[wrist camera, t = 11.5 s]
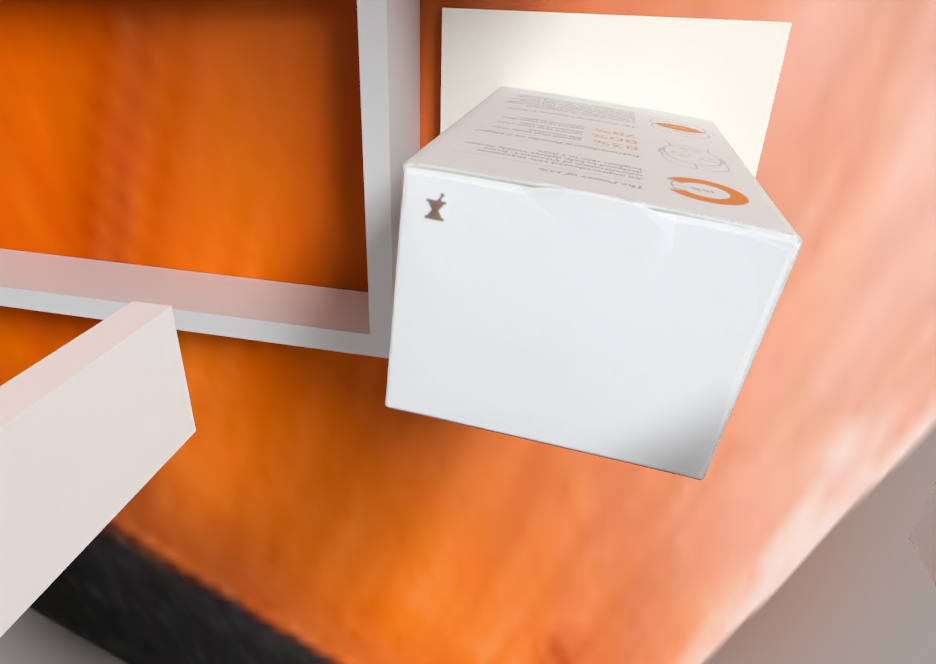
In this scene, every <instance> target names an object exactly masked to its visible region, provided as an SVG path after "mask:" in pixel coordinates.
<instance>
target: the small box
mask: <svg viewBox="0 0 936 664" xmlns="http://www.w3.org/2000/svg"><path fill="white" fill-rule="evenodd" d="M801 245H802V240H801V238H800V237H799V235H798V234H797V233H796V232H795V230H794V229H793V228H792V226H791V225H790V224H789V223H788V221H787V220H786V219H785V217H784V216H783V215H782V214H781V212H780V211H779V210H778V209H777V207H776V206H775V205H774V203H773V202H772V200H771V199H770V198H769V196H768V195H767V194H766V192H765V191H764V190H763V188H762V187H761V186H760V184H759V183H758V182H757V180H756V179H755V177H754V176H753V175H752V173H751V172H750V171H749V169H748V168H747V167H746V165H745V164H744V163H743V161H742V160H741V159H740V157H739V156H738V155H737V153H736V152H735V151H734V149H733V148H732V147H731V146H730V144H729V143H728V142H727V140H726V139H725V138H724V136H723V135H722V134H721V132H720V131H719V130H718V128H717V127H716V125H715V124H714V123H713V122H712V121H711V120H706V119H701V118H695V117H690V116H685V115H679V114H673V113H667V112H662V111H656V110H650V109H644V108H638V107H633V106H627V105H621V104H614V103H608V102H602V101H596V100H590V99H584V98H578V97H572V96H566V95H560V94H553V93H547V92H541V91H535V90H528V89H521V88H513V87H506V86H502V87H500V88H499V89H498V90H497V91H495V92H494V93H493V94H491V95H490V96H489V97H488V98H486V99H485V100H484V101H483V102H481V103H480V104H479V105H477V106H476V107H475V108H473V109H472V110H471V111H470V112H468V113H467V114H466V115H464V116H463V117H462V118H460V119H459V120H458V121H457V122H455V123H454V124H453V125H452V126H450V127H449V128H448V129H446V130H445V131H444V132H442V133H441V134H440V135H439V136H437V137H436V138H435V139H433V140H432V141H431V142H429V143H428V144H427V145H425V146H424V147H423V148H422V149H420V150H419V151H418V152H417V153H416V154H414V155H413V156H411V157H410V158H408V159H407V160H406V161H404V162H403V164H402V182H401V199H400V216H399V231H398V247H397V262H396V277H395V289H394V302H393V315H392V328H391V341H390V352H389V364H388V377H387V390H386V399H385V406H386V407H388V408H391V409H395V410H400V411H404V412H409V413H413V414H418V415H422V416H426V417H431V418H435V419H439V420H443V421H448V422H452V423H457V424H461V425H466V426H470V427H474V428H478V429H482V430H487V431H491V432H496V433H500V434H505V435H509V436H514V437H518V438H522V439H527V440H531V441H535V442H540V443H544V444H548V445H552V446H557V447H561V448H565V449H570V450H574V451H579V452H583V453H588V454H592V455H596V456H601V457H605V458H609V459H613V460H618V461H622V462H626V463H631V464H635V465H639V466H643V467H648V468H652V469H656V470H660V471H665V472H669V473H673V474H678V475H682V476H686V477H691V478H694V479H698V480H701V479H703V478H704V476H705V474H706V471H707V469H708V466H709V464H710V462H711V459H712V457H713V454H714V452H715V450H716V447H717V445H718V442H719V440H720V438H721V435H722V433H723V431H724V428H725V426H726V423H727V421H728V419H729V416H730V414H731V412H732V409H733V407H734V404H735V402H736V400H737V397H738V395H739V393H740V390H741V388H742V385H743V383H744V381H745V378H746V376H747V373H748V371H749V369H750V366H751V364H752V361H753V359H754V357H755V354H756V352H757V349H758V347H759V345H760V342H761V340H762V337H763V335H764V333H765V330H766V328H767V326H768V323H769V321H770V318H771V316H772V314H773V311H774V309H775V307H776V304H777V302H778V300H779V297H780V295H781V292H782V290H783V288H784V285H785V283H786V281H787V278H788V276H789V273H790V271H791V269H792V266H793V264H794V262H795V259H796V257H797V255H798V252H799V250H800V248H801Z"/></svg>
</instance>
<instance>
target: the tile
mask: <svg viewBox="0 0 936 664" xmlns="http://www.w3.org/2000/svg"><path fill="white" fill-rule="evenodd" d="M791 25H792V22H777V21H753V20H729V19H705V18H682V17H658V16H634V15H611V14H587V13H563V12H539V11H516V10H492V9H468V8H442V58H441V128H440V134H441V133H442V132H444V131H445V130H446V129H448V128H449V127H450V126H452V125H453V124H454V123H455V122H457V121H458V120H459V119H460V118H462V117H463V116H464V115H466V114H467V113H468V112H470V111H471V110H472V109H473V108H475V107H476V106H477V105H479V104H480V103H481V102H483V101H484V100H485V99H486V98H488V97H489V96H490V95H491V94H493V93H494V92H495V91H497V90H498V89H499V88H500V87H502V86H506V87H513V88H521V89H528V90H535V91H541V92H547V93H553V94H560V95H566V96H572V97H578V98H584V99H590V100H596V101H602V102H608V103H614V104H621V105H627V106H633V107H638V108H644V109H650V110H656V111H662V112H667V113H673V114H679V115H685V116H690V117H695V118H701V119H706V120H711V121H712V122H713V123H714V124H715V125H716V127H717V128H718V130H719V131H720V132H721V134H722V135H723V136H724V138H725V139H726V140H727V142H728V143H729V144H730V146H731V147H732V148H733V149H734V151H735V152H736V153H737V155H738V156H739V157H740V159H741V160H742V161H743V163H744V164H745V165H746V167H747V168H748V169H749V171H750V172H751V173H752V175H753V176H754V177H756V172H757V168H758V164H759V160H760V156H761V151H762V147H763V143H764V139H765V135H766V130H767V126H768V122H769V118H770V113H771V109H772V105H773V101H774V97H775V92H776V88H777V84H778V80H779V76H780V71H781V67H782V63H783V59H784V55H785V50H786V46H787V42H788V38H789V34H790V29H791Z"/></svg>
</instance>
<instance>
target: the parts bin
mask: <svg viewBox="0 0 936 664" xmlns="http://www.w3.org/2000/svg"><path fill="white" fill-rule="evenodd" d="M357 18H358V43H359V69H360V94H361V119H362V144H363V170H364V195H365V220H366V246H367V271H368V292H361V291H353V290H345V289H336V288H328V287H319V286H311V285H303V284H294V283H286V282H278V281H269V280H261V279H252V278H244V277H236V276H227V275H219V274H210V273H202V272H194V271H185V270H177V269H168V268H160V267H152V266H143V265H135V264H126V263H118V262H110V261H101V260H93V259H84V258H76V257H68V256H59V255H51V254H42V253H34V252H26V251H17V250H9V249H0V306H6V307H13V308H21V309H28V310H35V311H43V312H50V313H57V314H65V315H72V316H80V317H87V318H94V319H102V320H104V319H106V318H108V317H109V316H111V315H112V314H114V313H115V312H117V311H118V310H120V309H122V308H123V307H125V306H126V305H128V304H129V303H131V302H132V301H136V302H144V303H152V304H161V305H169V306H172V311H173V316H174V321H175V326H176V330H182V331H190V332H197V333H205V334H212V335H219V336H227V337H234V338H241V339H249V340H256V341H263V342H271V343H278V344H285V345H293V346H300V347H307V348H315V349H322V350H330V351H337V352H344V353H352V354H359V355H366V356H374V357H381V358H388V359H389V352H390V341H391V328H392V315H393V302H394V289H395V277H396V262H397V247H398V231H399V216H400V199H401V182H402V164H403V162H404V161H406V160H407V159H408V158H410V157H411V156H413V155H414V154H416V153H417V152H418V151H419V150H420V0H357Z"/></svg>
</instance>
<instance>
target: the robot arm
mask: <svg viewBox="0 0 936 664" xmlns="http://www.w3.org/2000/svg"><path fill="white" fill-rule="evenodd" d="M195 431H196V428H195V423H194V418H193V413H192V408H191V403H190V398H189V393H188V388H187V382H186V377H185V372H184V367H183V362H182V357H181V352H180V347H179V342H178V336H177V331H176V326H175V321H174V316H173V311H172V306H169V305H161V304H152V303H144V302H136V301H132V302H131V303H129V304H128V305H126V306H125V307H123V308H122V309H120V310H118V311H117V312H115V313H114V314H112V315H111V316H109V317H108V318H106V319H104V320H103V321H101V322H100V323H98V324H97V325H95V326H94V327H92V328H90V329H89V330H87V331H86V332H84V333H83V334H81V335H80V336H78V337H76V338H75V339H73V340H72V341H70V342H69V343H67V344H66V345H64V346H62V347H61V348H59V349H58V350H56V351H55V352H53V353H51V354H50V355H48V356H47V357H45V358H44V359H42V360H41V361H39V362H37V363H36V364H34V365H33V366H31V367H30V368H28V369H27V370H25V371H23V372H22V373H20V374H19V375H17V376H16V377H14V378H13V379H11V380H9V381H8V382H6V383H5V384H3V385H2V386H0V637H1V636H2V635H3V634H4V633H5V632H6V631H7V630H8V629H9V628H10V627H11V625H13V623H14V622H15V621H16V620H17V619H18V618H19V617H20V616H21V615H22V614H23V613H24V612H25V611H26V610H27V609H28V608H29V607H30V606H31V604H32V603H33V602H34V601H35V600H36V599H37V598H38V597H39V596H40V595H41V594H42V593H43V592H44V591H45V590H46V589H47V588H48V587H49V585H50V584H51V583H52V582H53V581H54V580H55V579H56V578H57V577H58V576H59V575H60V574H61V573H62V572H63V571H64V570H65V569H66V568H67V566H68V565H69V564H70V563H71V562H72V561H73V560H74V559H75V558H76V557H77V556H78V555H79V554H80V553H81V552H82V551H83V550H84V549H85V547H86V546H87V545H88V544H89V543H90V542H91V541H92V540H93V539H94V538H95V537H96V536H97V535H98V534H99V533H100V532H101V531H102V530H103V528H104V527H105V526H106V525H107V524H108V523H109V522H110V521H111V520H112V519H113V518H114V517H115V516H116V515H117V514H118V513H119V512H120V511H121V509H122V508H123V507H124V506H125V505H126V504H127V503H128V502H129V501H130V500H131V499H132V498H133V497H134V496H135V495H136V494H137V493H138V492H139V490H140V489H141V488H142V487H143V486H144V485H145V484H146V483H147V482H148V481H149V480H150V479H151V478H152V477H153V476H154V475H155V474H156V473H157V471H158V470H159V469H160V468H161V467H162V466H163V465H164V464H165V463H166V462H167V461H168V460H169V459H170V458H171V457H172V456H173V455H174V454H175V452H176V451H177V450H178V449H179V448H180V447H181V446H182V445H183V444H184V443H185V442H186V441H187V440H188V439H189V438H190V437H191V436H192V435H193V433H194V432H195ZM910 540H911V542H912V544H913V545H914V548H915V549H916V551H917V553H918V555H919V557H920V558H921V560H922V562H923V564H924V566H925V567H926V569H927V571H928V573H929V574H930V576H931V578H932V580H933V582H934V583H935V585H936V483H935V485H934V487H933V489H932V492H931V493H930V496H929V498H928V500H927V502H926V504H925V506H924V508H923V510H922V513H921V515H920V517H919V519H918V521H917V523H916V525H915V528H914V530H913V532H912V534H911V536H910Z"/></svg>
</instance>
